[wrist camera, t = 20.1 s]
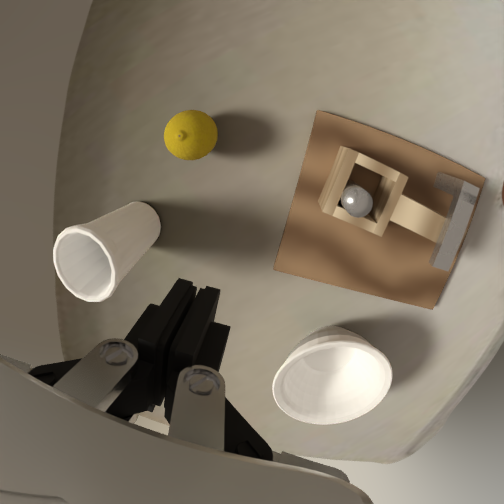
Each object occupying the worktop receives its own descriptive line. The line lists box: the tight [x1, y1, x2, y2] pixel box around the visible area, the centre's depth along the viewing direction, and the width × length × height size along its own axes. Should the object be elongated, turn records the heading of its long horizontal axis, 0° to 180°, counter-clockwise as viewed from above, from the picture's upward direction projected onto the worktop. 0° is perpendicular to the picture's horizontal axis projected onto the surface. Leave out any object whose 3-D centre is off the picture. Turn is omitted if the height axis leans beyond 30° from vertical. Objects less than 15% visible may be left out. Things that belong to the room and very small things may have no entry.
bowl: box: [272, 326, 393, 425], centre depth 41 cm, size 16×16×8 cm
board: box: [274, 110, 485, 310], centre depth 36 cm, size 20×24×1 cm
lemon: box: [164, 110, 218, 160], centre depth 32 cm, size 6×6×8 cm
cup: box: [53, 201, 161, 302], centre depth 34 cm, size 8×8×14 cm
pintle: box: [339, 179, 373, 218], centre depth 32 cm, size 3×3×7 cm
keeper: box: [429, 172, 480, 271], centre depth 31 cm, size 10×2×7 cm, turn 167°
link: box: [318, 146, 467, 251], centre depth 32 cm, size 17×7×5 cm, turn 71°
